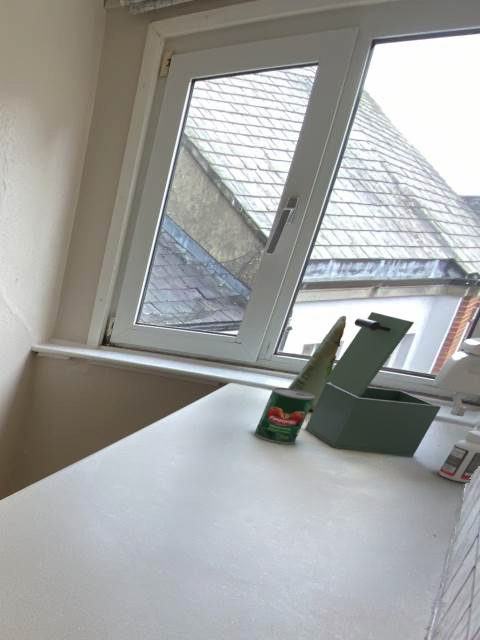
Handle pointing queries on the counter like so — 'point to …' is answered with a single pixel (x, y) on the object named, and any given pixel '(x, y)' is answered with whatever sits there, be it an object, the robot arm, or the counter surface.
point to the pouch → (320, 363)
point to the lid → (368, 352)
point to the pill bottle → (463, 458)
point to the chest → (372, 420)
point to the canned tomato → (284, 415)
